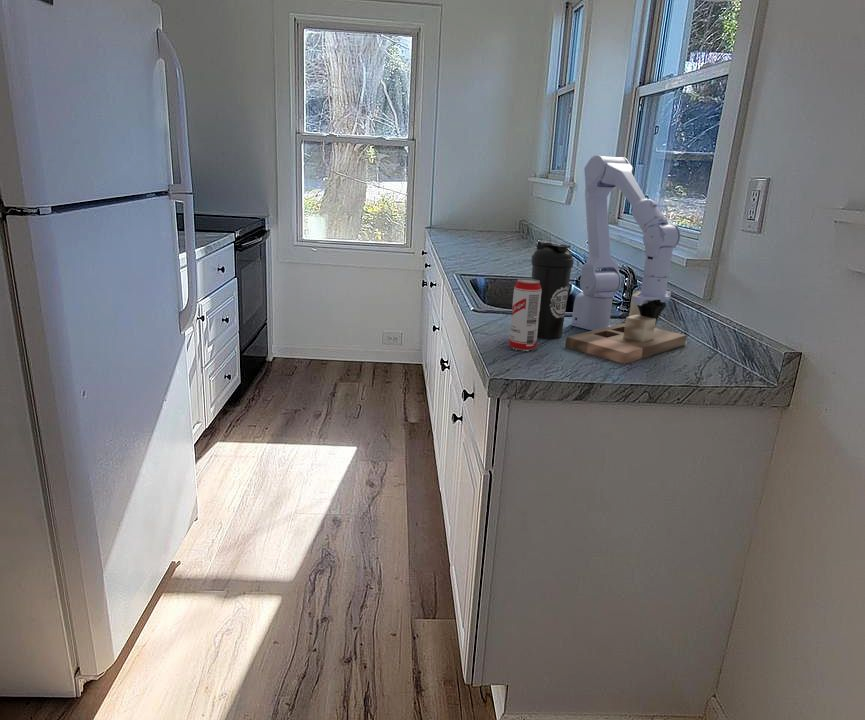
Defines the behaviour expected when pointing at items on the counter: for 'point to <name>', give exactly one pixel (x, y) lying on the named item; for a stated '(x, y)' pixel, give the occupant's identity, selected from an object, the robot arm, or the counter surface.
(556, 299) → the water bottle
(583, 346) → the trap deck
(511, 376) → the counter surface
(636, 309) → the cream domed cylinder
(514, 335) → the beer can
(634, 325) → the maple block
